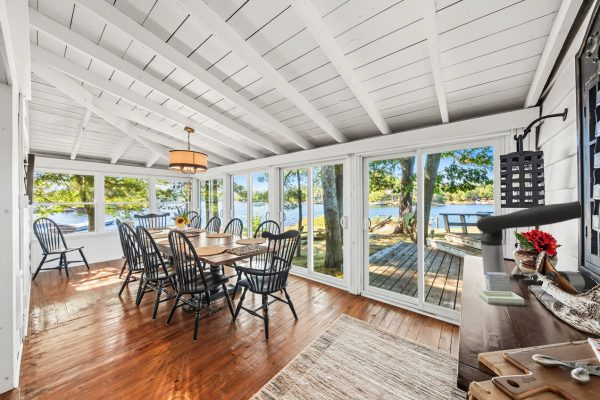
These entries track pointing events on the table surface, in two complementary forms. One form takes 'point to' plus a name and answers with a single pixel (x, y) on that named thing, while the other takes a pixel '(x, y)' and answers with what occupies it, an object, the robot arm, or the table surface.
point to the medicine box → (497, 281)
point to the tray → (501, 297)
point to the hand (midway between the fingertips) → (518, 279)
